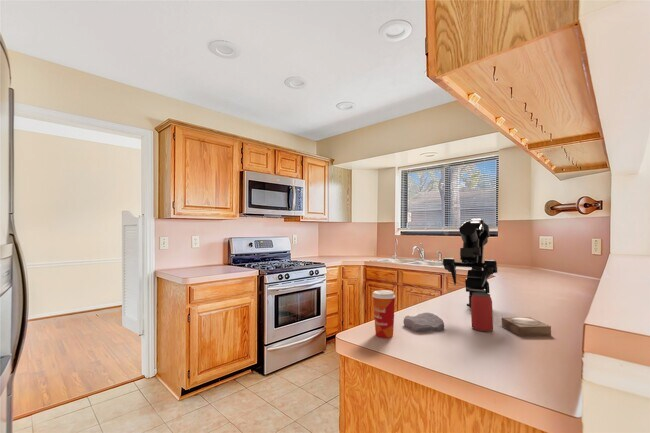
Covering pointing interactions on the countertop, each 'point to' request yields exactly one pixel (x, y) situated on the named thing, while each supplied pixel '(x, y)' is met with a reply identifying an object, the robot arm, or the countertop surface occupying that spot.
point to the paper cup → (384, 313)
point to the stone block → (424, 322)
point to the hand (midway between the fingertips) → (468, 285)
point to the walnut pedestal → (526, 326)
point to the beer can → (481, 312)
